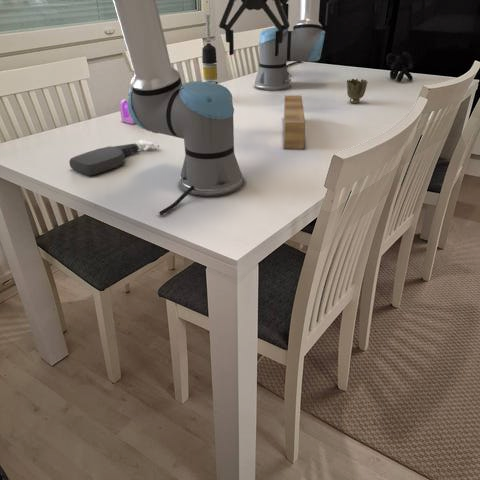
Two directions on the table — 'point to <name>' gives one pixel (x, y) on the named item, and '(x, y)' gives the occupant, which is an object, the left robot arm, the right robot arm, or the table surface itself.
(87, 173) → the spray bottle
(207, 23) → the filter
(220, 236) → the table surface
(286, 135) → the bar
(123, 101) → the bracket
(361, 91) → the cup
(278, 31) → the left robot arm
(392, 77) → the squiggle
